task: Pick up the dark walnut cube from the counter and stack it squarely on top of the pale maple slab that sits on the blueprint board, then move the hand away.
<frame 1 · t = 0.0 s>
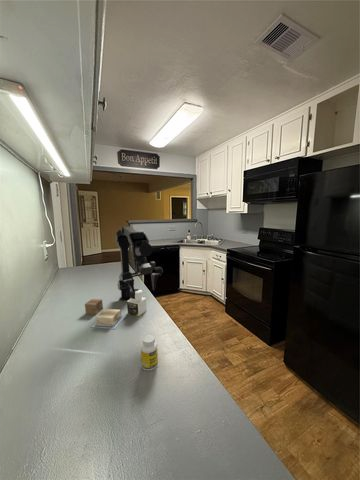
hand: (144, 292, 90), 15 cm above the countertop, tool pointing down, fingers open, 9 cm apart
medicine bottle: (137, 312, 104), on the countertop
supplement bottle: (150, 365, 68), on the countertop
walnut cube: (94, 312, 105), on the countertop
blueprint board: (109, 322, 95), on the countertop
maple slab: (109, 321, 95), resting on blueprint board
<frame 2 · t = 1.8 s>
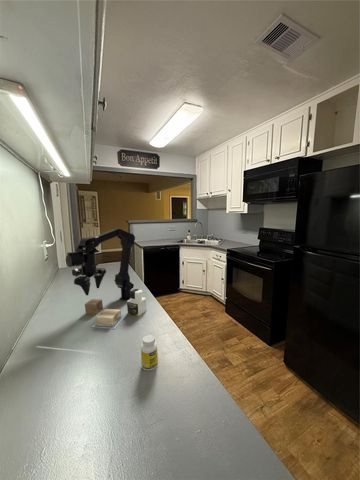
hand: (92, 291, 104), 11 cm above the countertop, tool pointing down, fingers open, 9 cm apart
nothing on the countertop moved.
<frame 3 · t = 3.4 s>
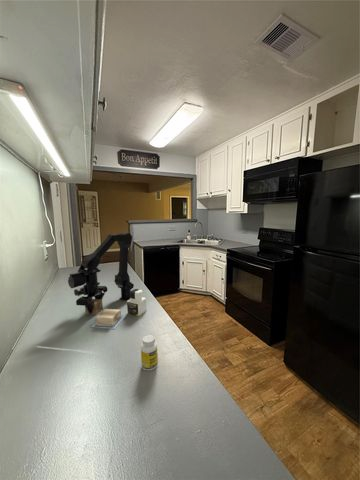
hand: (94, 310, 105), 1 cm above the countertop, tool pointing down, fingers closed on walnut cube, 6 cm apart
walnut cube: (94, 312, 105), on the countertop, touching gripper
everything else where it was.
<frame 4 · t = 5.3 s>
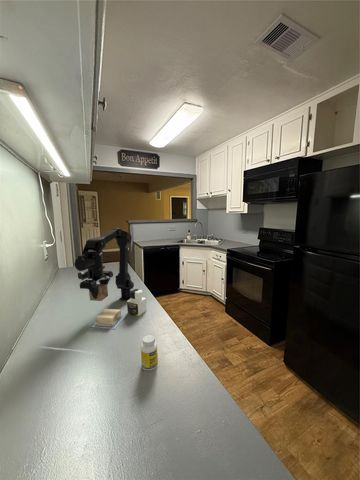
hand: (99, 296, 98), 11 cm above the countertop, tool pointing down, fingers closed on walnut cube, 6 cm apart
walnut cube: (99, 298, 99), point 10 cm above the countertop, touching gripper
everything else where it was.
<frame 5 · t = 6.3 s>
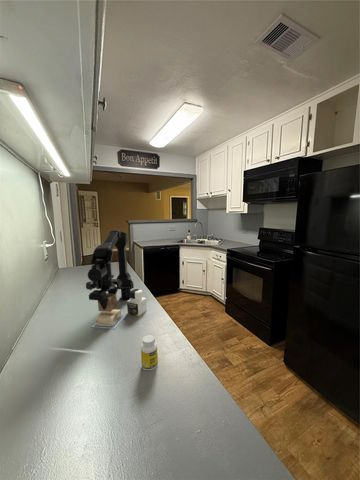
hand: (108, 306, 94), 8 cm above the countertop, tool pointing down, fingers closed on walnut cube, 6 cm apart
walnut cube: (108, 308, 94), point 7 cm above the countertop, touching gripper
everything else where it was.
when the fingers open (7 cm above the countertop, at t = 7.3 s): walnut cube drops 2 cm, resting on maple slab.
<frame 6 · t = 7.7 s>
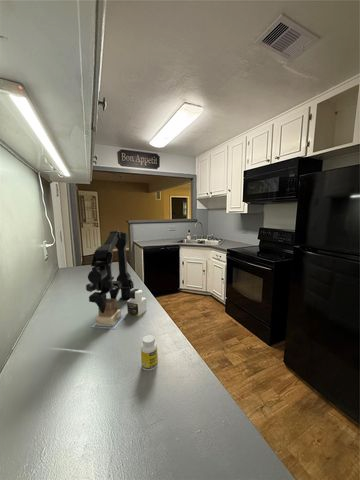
hand: (108, 307, 94), 7 cm above the countertop, tool pointing down, fingers open, 9 cm apart
walnut cube: (108, 313, 95), point 4 cm above the countertop, touching maple slab
maple slab: (109, 321, 95), resting on blueprint board, touching walnut cube
everything else where it was.
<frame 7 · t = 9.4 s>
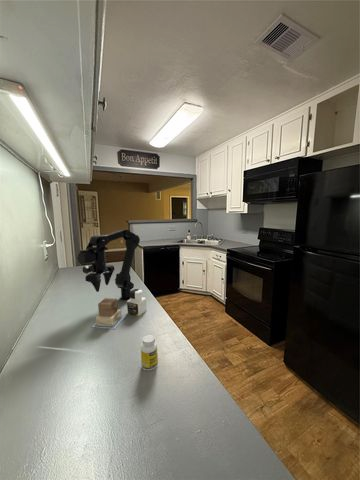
hand: (102, 288, 107), 12 cm above the countertop, tool pointing down, fingers open, 9 cm apart
nothing on the countertop moved.
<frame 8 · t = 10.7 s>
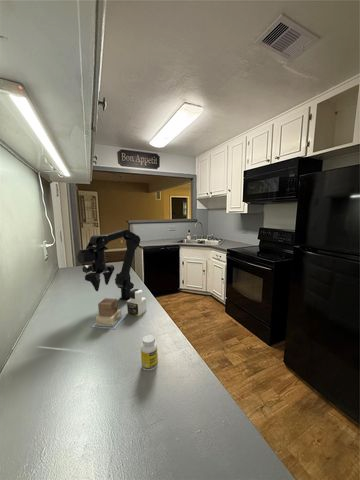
hand: (102, 287, 107), 12 cm above the countertop, tool pointing down, fingers open, 9 cm apart
nothing on the countertop moved.
at the end: walnut cube 0.1 cm off-centre on the maple slab, point 4.0 cm above the maple slab's base; walnut cube tilted 0°; maple slab 0.0 cm from the blueprint board (horizontally) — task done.
